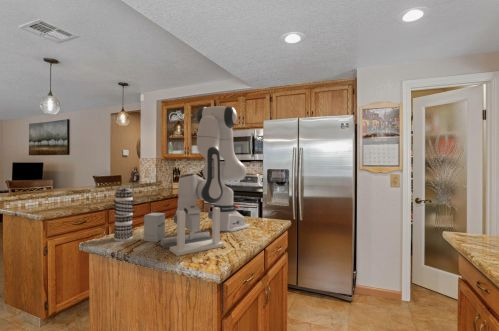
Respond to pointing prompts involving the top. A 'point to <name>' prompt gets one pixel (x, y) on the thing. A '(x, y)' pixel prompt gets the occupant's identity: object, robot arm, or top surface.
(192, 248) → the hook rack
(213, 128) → the robot arm
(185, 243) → the rubber mat
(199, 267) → the top surface
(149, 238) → the supplement box
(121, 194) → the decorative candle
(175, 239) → the steel bar
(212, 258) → the top surface
